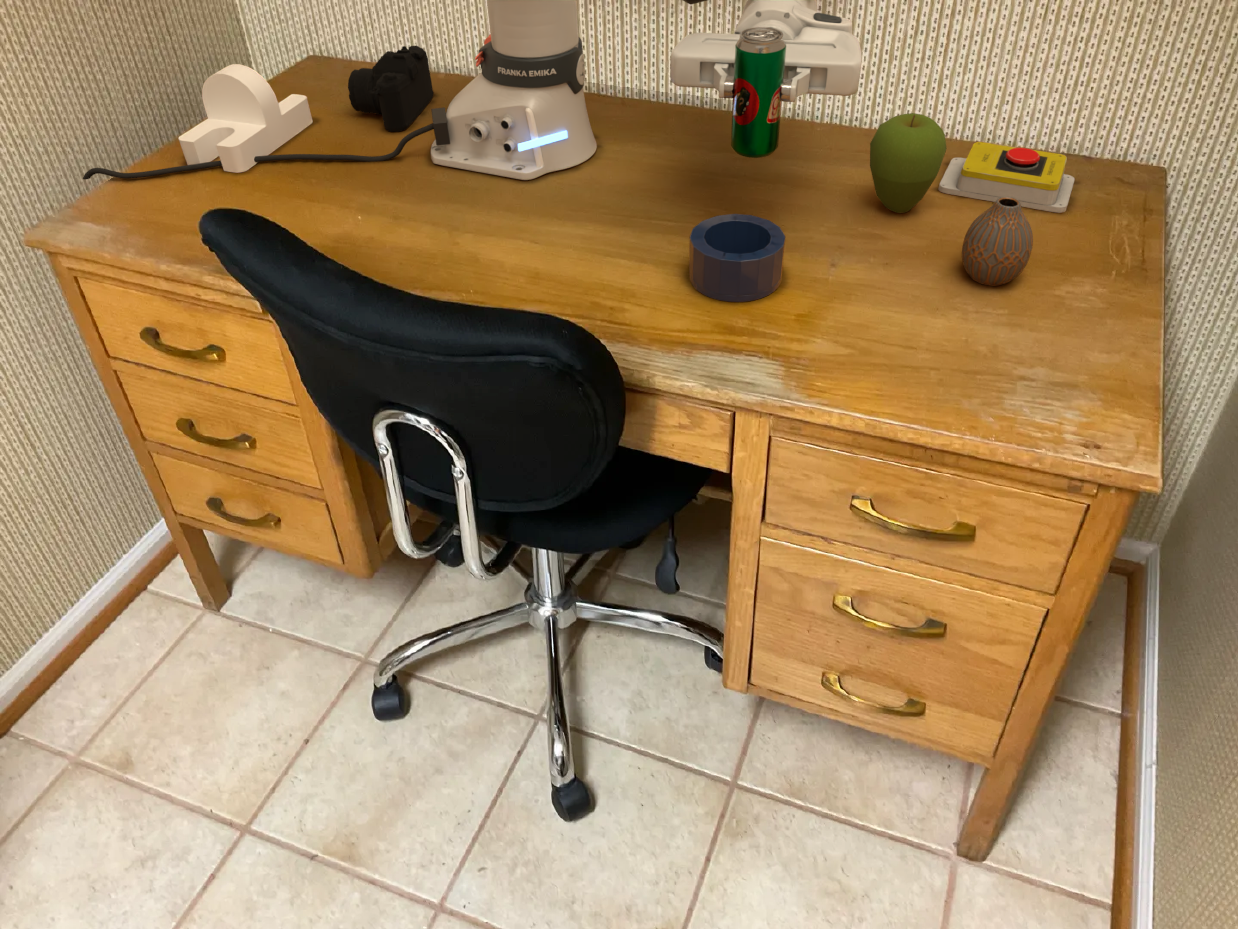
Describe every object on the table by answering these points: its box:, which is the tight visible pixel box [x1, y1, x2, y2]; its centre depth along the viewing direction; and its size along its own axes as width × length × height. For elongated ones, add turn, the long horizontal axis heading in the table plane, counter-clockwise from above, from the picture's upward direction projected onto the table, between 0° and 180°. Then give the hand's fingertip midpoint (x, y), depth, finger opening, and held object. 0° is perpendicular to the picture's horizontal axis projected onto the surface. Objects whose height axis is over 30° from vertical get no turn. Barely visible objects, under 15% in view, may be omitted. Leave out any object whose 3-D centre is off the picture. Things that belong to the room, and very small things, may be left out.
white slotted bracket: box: [178, 63, 313, 174], centre depth 134 cm, size 10×18×10 cm, turn 161°
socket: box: [688, 213, 786, 303], centre depth 105 cm, size 10×10×5 cm
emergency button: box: [938, 141, 1076, 214], centre depth 119 cm, size 9×4×15 cm
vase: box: [961, 197, 1034, 287], centre depth 102 cm, size 7×7×9 cm
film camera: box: [347, 45, 435, 133], centre depth 141 cm, size 15×10×9 cm, turn 169°
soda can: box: [730, 27, 786, 159], centre depth 100 cm, size 5×5×12 cm
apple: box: [869, 112, 948, 214], centre depth 113 cm, size 9×8×12 cm
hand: (757, 92), depth 99 cm, fingers closed on soda can, 5 cm apart
